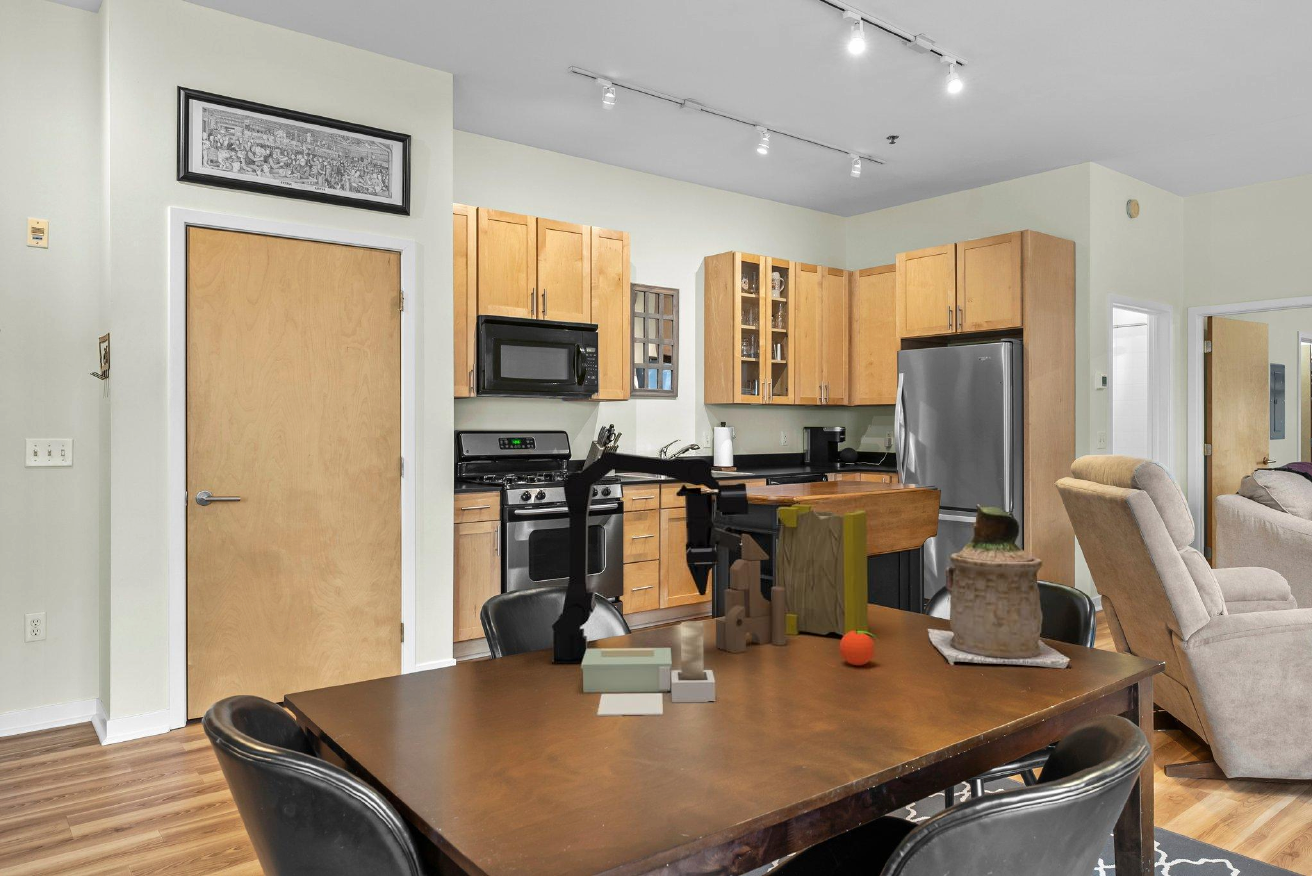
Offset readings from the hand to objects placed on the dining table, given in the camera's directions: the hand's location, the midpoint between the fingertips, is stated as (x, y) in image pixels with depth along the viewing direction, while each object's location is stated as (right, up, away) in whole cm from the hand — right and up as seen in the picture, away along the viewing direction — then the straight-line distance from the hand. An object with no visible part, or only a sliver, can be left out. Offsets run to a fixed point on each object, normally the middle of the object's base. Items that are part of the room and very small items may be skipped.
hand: (702, 591), depth 172 cm
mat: (-14, -14, -29) cm, 36 cm away
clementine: (+32, -14, -5) cm, 35 cm away
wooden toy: (+12, -15, +11) cm, 22 cm away
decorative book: (+30, -14, +23) cm, 40 cm away
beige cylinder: (-3, -14, -24) cm, 28 cm away
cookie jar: (+63, -14, +4) cm, 65 cm away
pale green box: (-11, -14, -19) cm, 27 cm away
